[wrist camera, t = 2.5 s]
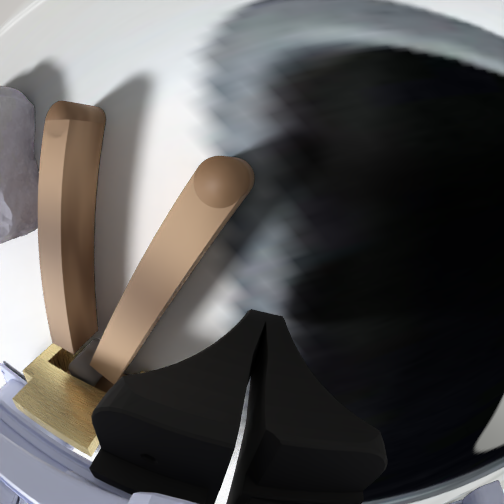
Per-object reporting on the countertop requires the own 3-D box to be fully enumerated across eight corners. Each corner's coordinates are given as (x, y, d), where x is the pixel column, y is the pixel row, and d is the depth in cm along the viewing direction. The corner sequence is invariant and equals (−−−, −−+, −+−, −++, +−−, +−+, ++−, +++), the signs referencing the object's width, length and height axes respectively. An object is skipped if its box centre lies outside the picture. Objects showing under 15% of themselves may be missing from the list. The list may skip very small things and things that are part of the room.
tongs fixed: (133, 412, 16) (119, 437, 14) (91, 392, 16) (74, 414, 14) (145, 107, 10) (112, 97, 8) (83, 107, 11) (48, 101, 8)
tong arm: (133, 359, 14) (114, 384, 12) (110, 341, 14) (89, 364, 12) (263, 173, 10) (255, 176, 8) (228, 148, 10) (213, 145, 8)
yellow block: (155, 407, 15) (115, 481, 9) (69, 368, 16) (19, 423, 10) (154, 375, 14) (104, 457, 8) (61, 335, 15) (2, 390, 9)
